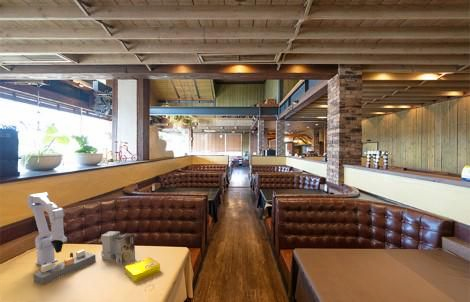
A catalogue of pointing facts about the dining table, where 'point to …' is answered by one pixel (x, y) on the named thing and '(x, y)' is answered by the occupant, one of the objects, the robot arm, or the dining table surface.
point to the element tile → (142, 269)
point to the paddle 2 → (80, 253)
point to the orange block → (69, 261)
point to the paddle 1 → (46, 267)
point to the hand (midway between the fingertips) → (58, 252)
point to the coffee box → (124, 249)
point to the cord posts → (70, 257)
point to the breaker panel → (63, 269)
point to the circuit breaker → (109, 244)
